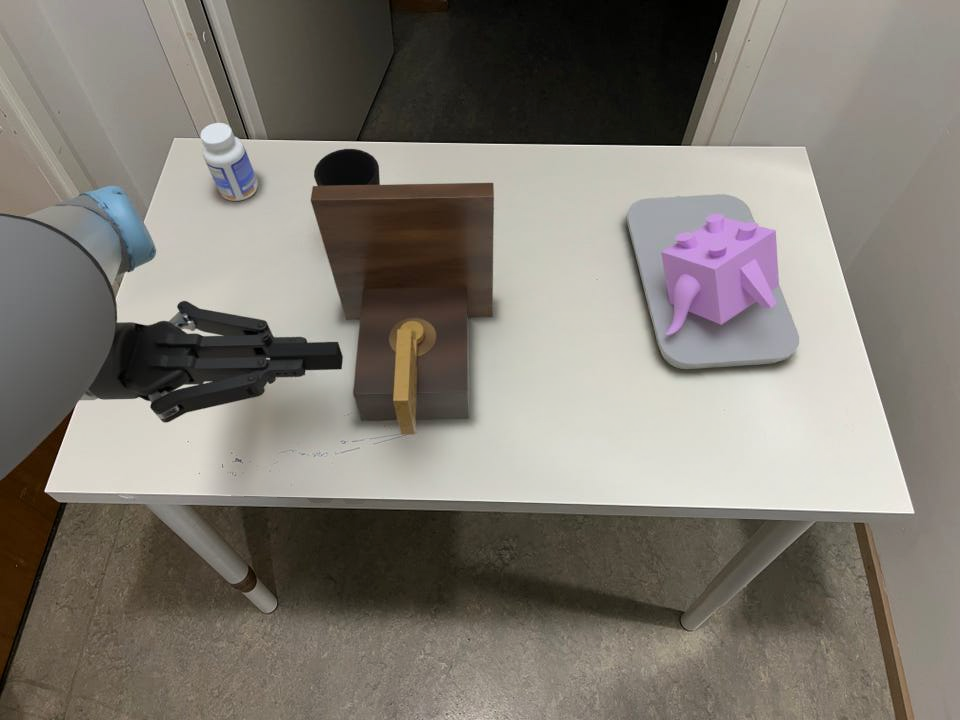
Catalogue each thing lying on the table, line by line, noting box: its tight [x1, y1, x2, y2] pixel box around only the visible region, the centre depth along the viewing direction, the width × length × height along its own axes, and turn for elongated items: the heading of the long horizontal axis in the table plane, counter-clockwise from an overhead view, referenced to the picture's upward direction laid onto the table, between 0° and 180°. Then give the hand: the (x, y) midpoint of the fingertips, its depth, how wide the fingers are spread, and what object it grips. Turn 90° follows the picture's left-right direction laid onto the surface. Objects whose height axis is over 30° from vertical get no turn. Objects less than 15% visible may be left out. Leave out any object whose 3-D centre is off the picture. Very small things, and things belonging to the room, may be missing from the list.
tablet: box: [626, 193, 800, 370], centre depth 85 cm, size 16×26×2 cm, turn 4°
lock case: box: [310, 182, 495, 422], centre depth 72 cm, size 16×18×20 cm
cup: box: [313, 148, 381, 186], centre depth 86 cm, size 8×8×12 cm
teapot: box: [661, 214, 780, 335], centre depth 77 cm, size 18×13×10 cm
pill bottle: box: [200, 122, 259, 202], centre depth 92 cm, size 5×5×10 cm
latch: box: [393, 321, 424, 436], centre depth 69 cm, size 13×3×7 cm, turn 1°
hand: (339, 355), depth 67 cm, fingers closed
